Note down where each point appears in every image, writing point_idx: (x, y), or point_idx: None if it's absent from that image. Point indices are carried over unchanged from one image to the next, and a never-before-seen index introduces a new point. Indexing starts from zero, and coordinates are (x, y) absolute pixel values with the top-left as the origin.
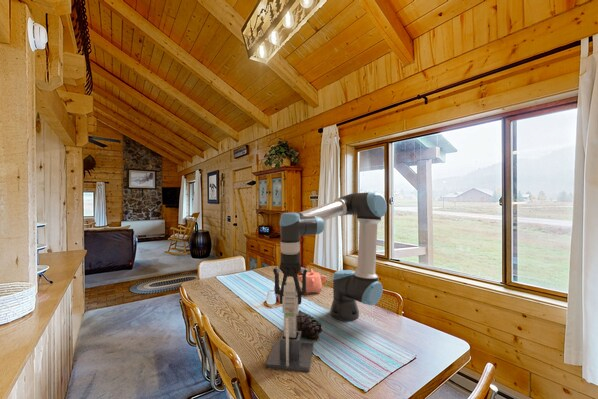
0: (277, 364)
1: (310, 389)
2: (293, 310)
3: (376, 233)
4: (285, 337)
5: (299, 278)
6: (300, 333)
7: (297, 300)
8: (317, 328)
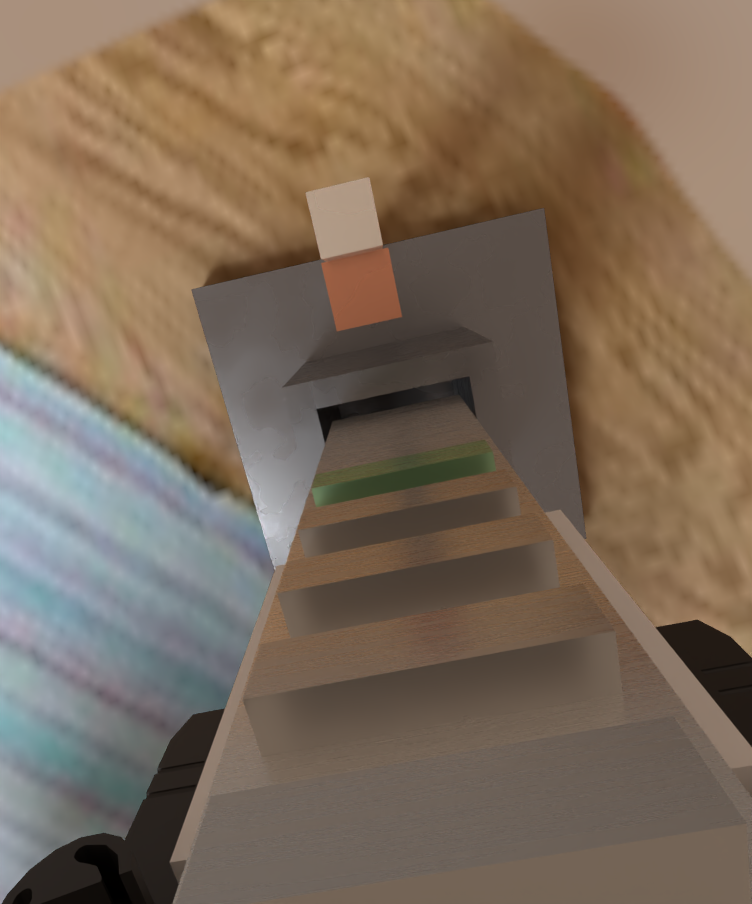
0: (448, 238)
1: (116, 93)
2: (312, 517)
3: None
4: None
5: None
6: None
7: (211, 757)
8: None
